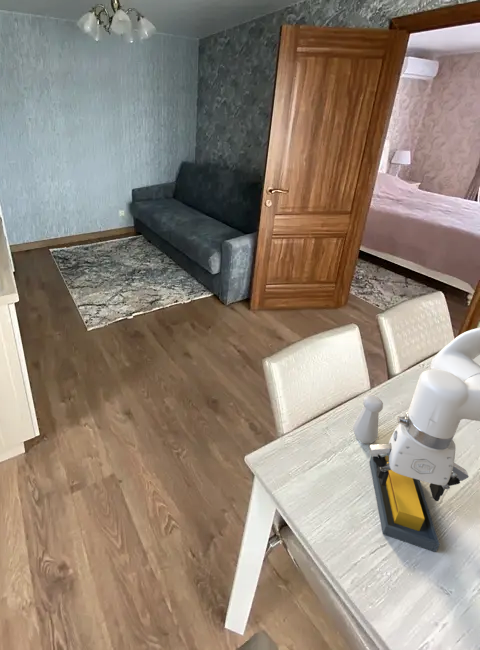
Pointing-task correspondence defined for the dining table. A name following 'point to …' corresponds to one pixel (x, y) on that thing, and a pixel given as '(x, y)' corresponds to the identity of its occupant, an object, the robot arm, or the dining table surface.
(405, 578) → the dining table surface
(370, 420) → the salt shaker
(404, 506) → the block
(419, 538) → the tray
